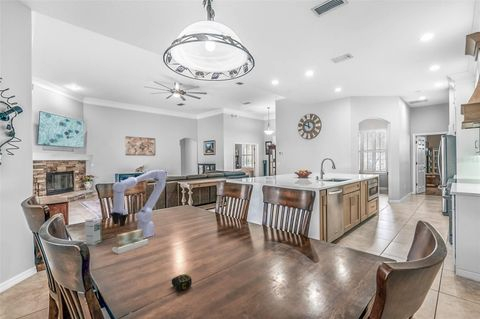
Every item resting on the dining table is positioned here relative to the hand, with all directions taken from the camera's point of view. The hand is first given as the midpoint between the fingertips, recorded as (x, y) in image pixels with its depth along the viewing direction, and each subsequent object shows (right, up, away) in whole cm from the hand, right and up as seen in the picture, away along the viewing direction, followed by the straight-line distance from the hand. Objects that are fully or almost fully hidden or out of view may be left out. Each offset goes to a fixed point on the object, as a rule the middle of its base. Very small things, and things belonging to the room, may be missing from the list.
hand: (119, 225), depth 141 cm
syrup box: (-14, -10, -2) cm, 17 cm away
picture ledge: (+11, -10, -10) cm, 18 cm away
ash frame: (+11, -9, -10) cm, 18 cm away
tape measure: (+50, -10, -51) cm, 72 cm away
